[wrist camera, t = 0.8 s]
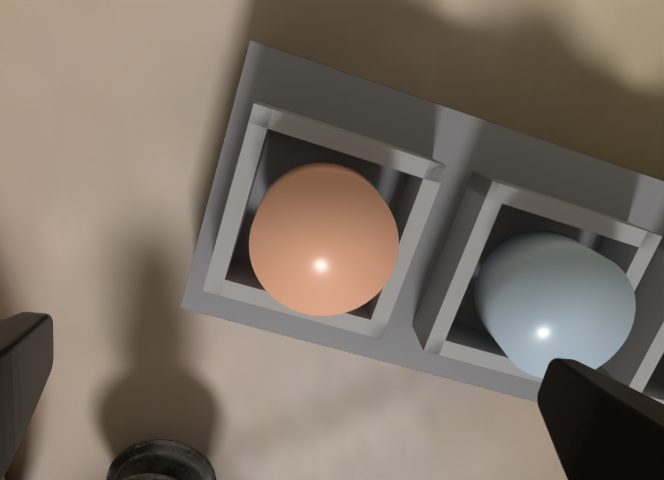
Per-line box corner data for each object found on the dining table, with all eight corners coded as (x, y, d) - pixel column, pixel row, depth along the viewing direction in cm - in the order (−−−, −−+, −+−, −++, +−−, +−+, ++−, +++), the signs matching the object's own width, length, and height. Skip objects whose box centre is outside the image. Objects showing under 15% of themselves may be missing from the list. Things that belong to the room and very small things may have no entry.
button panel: (776, 223, 23) (900, 259, 18) (671, 409, 26) (755, 483, 21) (258, 46, 20) (243, 34, 15) (195, 279, 23) (166, 331, 18)
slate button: (615, 250, 18) (660, 273, 16) (563, 357, 19) (597, 393, 17) (502, 214, 18) (532, 233, 15) (455, 327, 19) (476, 360, 17)
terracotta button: (404, 183, 17) (420, 198, 15) (362, 301, 18) (370, 331, 16) (277, 143, 17) (273, 152, 14) (241, 267, 18) (231, 293, 15)
